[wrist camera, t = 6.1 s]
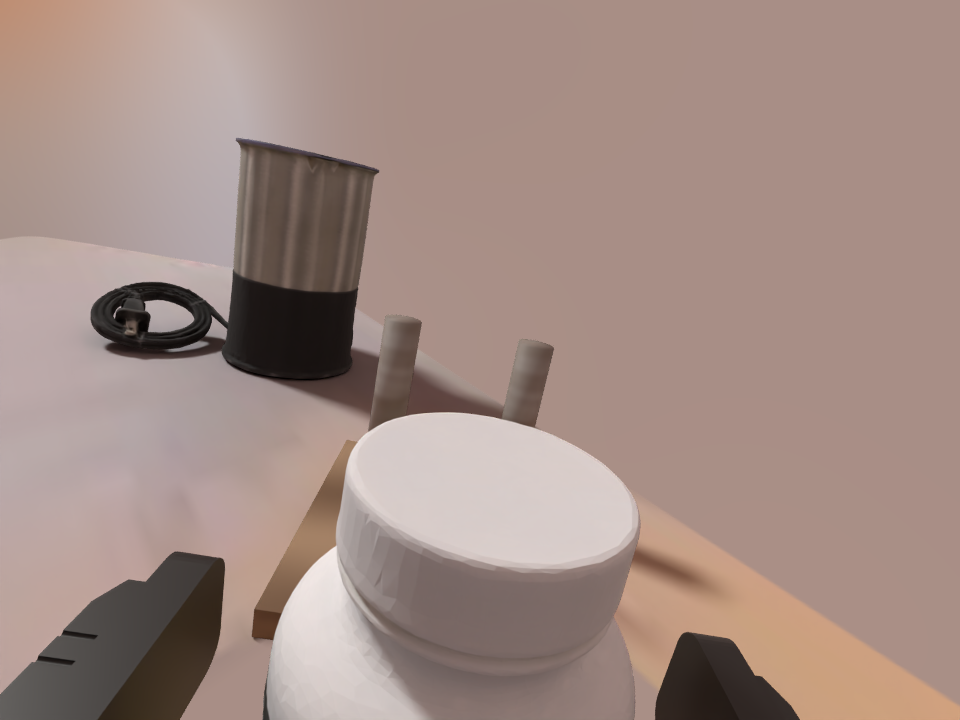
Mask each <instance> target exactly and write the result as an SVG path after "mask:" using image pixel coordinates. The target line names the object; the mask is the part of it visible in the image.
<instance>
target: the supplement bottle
mask: <svg viewBox="0 0 960 720" xmlns="http://www.w3.org/2000/svg"><path fill="white" fill-rule="evenodd" d="M639 534H640V515H639V510H638V507H637V504H636V502H635V500H634V498H633V496H632V494H631V493H630V491H629V490H628V488H627V487H626V486H625V485H624V483H623V482H622V481H621V480H620V479H619V478H618V477H617V476H616V475H615V474H614V473H613V472H612V471H611V470H610V469H608V468H607V467H606V466H605V465H604V464H603V463H601V462H600V461H598V460H597V459H596V458H594V457H592V456H591V455H590V454H588V453H586V452H585V451H583V450H581V449H579V448H578V447H576V446H574V445H572V444H570V443H568V442H566V441H564V440H562V439H560V438H558V437H556V436H554V435H551V434H549V433H547V432H544V431H541V430H538V429H536V428H533V427H529V426H525V425H521V424H518V423H515V422H511V421H507V420H503V419H498V418H494V417H489V416H482V415H476V414H467V413H451V412H445V413H423V414H415V415H409V416H404V417H400V418H396V419H393V420H390V421H387V422H385V423H383V424H381V425H379V426H377V427H375V428H374V429H372V430H371V431H369V432H368V433H366V434H365V435H364V436H363V437H362V438H361V439H360V440H359V441H358V442H357V444H356V445H355V447H354V448H353V450H352V452H351V454H350V457H349V459H348V463H347V467H346V473H345V480H344V487H343V494H342V501H341V508H340V513H339V516H338V520H337V527H336V545H337V546H335V547H334V548H332V549H331V550H330V551H328V552H327V553H326V554H325V555H323V556H322V557H321V558H320V559H319V560H318V561H317V562H316V563H315V564H313V565H312V567H311V568H310V569H309V570H308V571H307V573H306V574H305V575H304V576H303V578H302V579H301V580H300V582H299V583H298V585H297V586H296V588H295V589H294V591H293V592H292V594H291V596H290V598H289V600H288V602H287V603H286V605H285V607H284V610H283V612H282V615H281V617H280V620H279V622H278V625H277V628H276V631H275V636H274V640H273V645H272V650H271V657H270V663H269V668H268V674H267V680H266V685H265V691H264V700H263V707H264V708H263V720H634V716H635V686H634V677H633V671H632V666H631V661H630V657H629V653H628V650H627V647H626V644H625V641H624V638H623V636H622V634H621V631H620V629H619V627H618V625H617V623H616V621H615V619H614V617H613V616H614V614H615V612H616V610H617V608H618V605H619V603H620V600H621V597H622V593H623V590H624V587H625V583H626V580H627V577H628V573H629V570H630V566H631V563H632V559H633V556H634V553H635V549H636V546H637V542H638V539H639Z"/></svg>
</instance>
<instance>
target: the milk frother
mask: <svg viewBox="0 0 960 720" xmlns="http://www.w3.org/2000/svg"><path fill="white" fill-rule="evenodd" d="M236 141H237V142H238V143H239V145H240V147H241V157H240V173H239V188H238V201H237V218H236V233H235V248H234V250H235V251H234V269H233V282H232V293H231V304H230V313H229V321H228V323H227V322H226V321H225V320H224V319H223V318H222V317H221V316H220V315H219V313H218V312H217V311H216V310H215V309H214V308H213V307H212V306H211V305H210V304H209V303H207V302H206V301H205V300H203V299H202V298H201V297H199V296H198V295H197V294H195V293H194V292H192V291H191V290H189V289H185V288H182V287H180V286H176V285H173V284H168V283H162V282H141V283H135V284H130V285H127V286H123V287H121V288H118V289H115V290H113V291H110V292H108V293H107V294H105V295H104V296H102V297H101V298H99V299H98V300H97V301H96V302H95V303H94V305H93V307H92V309H91V323H92V325H93V327H94V329H95V330H96V331H97V332H98V333H99V334H100V335H102V336H103V337H105V338H107V339H109V340H112V341H114V342H117V343H120V344H123V345H128V346H133V347H139V348H147V349H174V348H181V347H184V346H187V345H190V344H193V343H195V342H197V341H199V340H200V339H202V338H203V337H204V336H205V335H206V334H207V332H208V331H209V329H210V326H211V323H212V317H211V315H212V316H213V317H214V318H215V319H217V320H218V321H219V322H220V323H221V324H222V325H223V326H224V327H225V328H227V329H228V330H227V337H226V343H225V344H224V345H223V347H222V355H223V357H224V358H225V359H226V360H227V361H229V362H230V363H231V364H233V365H236V366H238V367H240V368H242V369H244V370H247V371H250V372H254V373H258V374H262V375H268V376H276V377H283V378H292V379H313V378H324V377H328V376H334V375H338V374H341V373H343V372H345V371H347V370H348V369H350V367H351V366H352V358H351V356H350V351H351V346H352V340H353V323H354V313H355V307H356V300H357V291H358V284H359V279H360V272H361V266H362V260H363V252H364V244H365V239H366V231H367V223H368V216H369V208H370V201H371V194H372V186H373V180H374V176H375V175H376V174H377V173H379V170H377V169H375V168H371V167H368V166H365V165H360V164H357V163H354V162H350V161H346V160H341V159H336V158H332V157H328V156H324V155H320V154H316V153H311V152H307V151H302V150H298V149H293V148H289V147H284V146H280V145H275V144H271V143H266V142H261V141H254V140H249V139H241V138H236ZM152 300H164V301H169V302H172V303H175V304H178V305H180V306H182V307H184V308H186V309H187V310H188V311H189V312H191V313H192V315H193V316H194V321H193V323H191V324H190V325H189V326H187V327H185V328H183V329H180V330H175V331H171V332H162V333H157V332H148V327H149V322H150V318H151V317H150V314H149V313H148V312H146V311H145V303H144V302H145V301H152ZM120 306H121V308H120V309H118V310H117V312H116V317H115V319H114V317H113V315H114V313H115V311H116V309H117V308H118V307H120Z"/></svg>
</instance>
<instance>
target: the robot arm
mask: <svg viewBox="0 0 960 720" xmlns="http://www.w3.org/2000/svg"><path fill="white" fill-rule="evenodd" d="M224 574H225V563H224V560H223V559H222V558H216V557H210V556H204V555H197V554H191V553H184V552H174V553H172V554H171V555H169V556H168V557H167V558H166V560H165V561H164V562H163V563H162V564H161V565H160V566H159V567H158V569H157V570H156V571H155V572H154V573H153V574H152V575H151V576H150V578H149V579H148V580H147V581H146V582H142V581H135V580H129V579H128V580H127V581H125V582H123V583H122V584H120V585H118V586H117V587H115V588H113V589H112V590H110V591H108V592H107V593H105V594H103V595H101V596H100V597H98V598H96V599H95V600H93V601H91V602H90V604H89V605H88V606H87V607H86V608H85V609H84V610H83V611H82V612H81V613H80V614H79V615H78V616H77V617H76V618H75V619H74V620H73V621H72V622H71V623H70V624H69V625H68V626H67V627H66V628H65V629H64V630H63V633H62V635H61V636H60V637H59V636H57V637H56V638H55V639H54V640H53V641H52V642H51V643H50V644H49V645H48V646H47V647H46V648H45V649H44V650H43V651H42V652H41V653H40V654H39V655H38V659H37V661H36V662H35V663H34V662H32V663H31V664H30V665H29V666H28V667H27V668H26V669H25V670H24V671H23V672H22V673H21V674H20V675H19V676H18V677H17V678H16V679H15V680H14V681H13V682H12V683H11V684H10V685H9V686H8V687H7V688H6V689H5V690H4V691H3V692H2V693H1V694H0V720H180V718H181V716H182V715H183V713H184V711H185V709H186V708H187V706H188V704H189V703H190V701H191V699H192V697H193V695H194V694H195V692H196V690H197V689H198V687H199V685H200V683H201V682H202V680H203V678H204V677H205V675H206V673H207V671H208V669H209V667H210V664H211V662H212V660H213V657H214V654H215V651H216V648H217V645H218V641H219V636H220V629H221V615H222V601H223V588H224ZM655 720H800V719H799V718H798V716H797V714H796V713H795V711H794V710H793V708H792V707H791V705H790V704H789V703H788V702H787V701H786V700H785V699H784V698H783V697H782V696H781V695H780V694H779V693H778V692H777V691H776V690H775V689H774V688H773V687H772V686H771V685H770V684H769V683H768V682H767V681H766V680H765V679H764V678H763V677H761V676H755V675H754V673H753V672H752V670H751V669H750V667H749V665H748V664H747V662H746V660H745V659H744V657H743V655H742V654H741V652H740V650H739V649H738V647H737V646H736V644H735V643H734V642H733V641H731V640H730V639H728V638H722V637H716V636H709V635H703V634H697V633H690V632H685V633H683V634H682V635H681V637H680V638H679V640H678V642H677V645H676V648H675V650H674V653H673V656H672V659H671V661H670V664H669V667H668V669H667V672H666V675H665V677H664V680H663V683H662V685H661V688H660V691H659V693H658V697H657V701H656V709H655Z"/></svg>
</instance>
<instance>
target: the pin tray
mask: <svg viewBox="0 0 960 720" xmlns="http://www.w3.org/2000/svg"><path fill="white" fill-rule="evenodd" d="M421 324H422V322H421V321H420V320H418V319H415V318H412V317H408V316H402V315H387V316H386V317H385V323H384V329H383V336H382V343H381V349H380V356H379V363H378V370H377V376H376V383H375V390H374V396H373V403H372V410H371V416H370V423H369V430H368V432H369V431H371V430H372V429H374V428H375V427H377V426H379V425H381V424H383V423H385V422H387V421H390V420H393V419H396V418H400V417H404V416H406V412H407V407H408V401H409V395H410V389H411V383H412V377H413V371H414V365H415V359H416V353H417V348H418V342H419V336H420V330H421ZM553 350H554V348H553V347H552V346H551V345H548V344H546V343H543V342H539V341H534V340H528V339H521V340H519V343H518V347H517V352H516V356H515V361H514V365H513V370H512V374H511V378H510V383H509V387H508V392H507V396H506V401H505V405H504V410H503V414H502V419H503V420H507V421H511V422H515V423H518V424H521V425H525V426H529V427H533V428H535V424H536V420H537V416H538V412H539V408H540V404H541V400H542V395H543V391H544V387H545V383H546V379H547V375H548V371H549V367H550V363H551V359H552V355H553ZM356 444H357V442H355V441H349V440H347V441H346V443H345V444H344V446H343V448H342V450H341V452H340V454H339V455H338V457H337V459H336V461H335V463H334V465H333V466H332V468H331V470H330V472H329V474H328V476H327V477H326V479H325V481H324V483H323V485H322V487H321V488H320V490H319V492H318V494H317V496H316V498H315V499H314V501H313V503H312V505H311V507H310V508H309V510H308V512H307V514H306V516H305V518H304V519H303V521H302V523H301V525H300V527H299V529H298V530H297V532H296V534H295V536H294V538H293V540H292V541H291V543H290V545H289V547H288V549H287V551H286V552H285V554H284V556H283V558H282V560H281V562H280V563H279V565H278V567H277V569H276V571H275V573H274V574H273V576H272V578H271V580H270V582H269V583H268V585H267V587H266V589H265V591H264V593H263V594H262V596H261V598H260V600H259V602H258V604H257V605H256V607H255V609H254V619H253V630H252V637H256V638H263V639H270V640H274V636H275V631H276V628H277V625H278V622H279V620H280V617H281V615H282V612H283V610H284V607H285V605H286V603H287V602H288V600H289V598H290V596H291V594H292V592H293V591H294V589H295V588H296V586H297V585H298V583H299V582H300V580H301V579H302V578H303V576H304V575H305V574H306V573H307V571H308V570H309V569H310V568H311V567H312V565H313V564H315V563H316V562H317V561H318V560H319V559H320V558H321V557H322V556H323V555H325V554H326V553H327V552H328V551H330V550H331V549H332V548H334V547H335V546H337V545H336V527H337V520H338V516H339V513H340V508H341V501H342V494H343V487H344V480H345V473H346V467H347V463H348V459H349V457H350V454H351V452H352V450H353V448H354V447H355V445H356Z"/></svg>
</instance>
